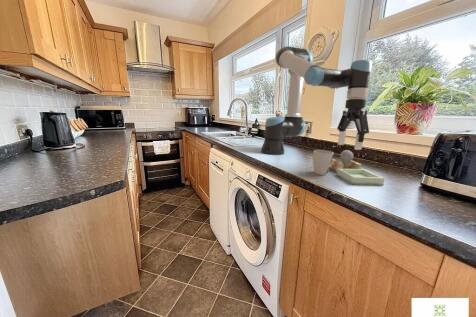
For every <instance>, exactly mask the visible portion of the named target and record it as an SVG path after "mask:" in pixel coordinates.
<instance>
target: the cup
mask: <svg viewBox="0 0 476 317" xmlns="http://www.w3.org/2000/svg"><path fill="white" fill-rule="evenodd" d="M334 154H335V152H333V151H331V150H325V149H314V150H313V156H312V157H313V158H312V162H313V163H312V165H313V172H314V174H315V175H320V176H326V175H327V174H328V172H329V171H330V169H331V168H330V166H331V163H332V159H333V158H334Z"/></svg>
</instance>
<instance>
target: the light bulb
mask: <svg viewBox="0 0 476 317" xmlns="http://www.w3.org/2000/svg"><path fill="white" fill-rule="evenodd" d="M339 158H340V161H341V163H343V164H344V166H343V169H347V167H348V163H349V162H350V161H351V160H352V161H353V159H354V153H353V152H352V151H351V150H349V149H345V150H343V151H341V152H340V154H339Z"/></svg>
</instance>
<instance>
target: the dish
mask: <svg viewBox="0 0 476 317" xmlns="http://www.w3.org/2000/svg"><path fill="white" fill-rule="evenodd" d="M336 176H338V177H340V178H341V179H343V180H344V181H346V182H348V183H349V184H351V185H357V186H358V185H360V186H361V185H365V186H384V183H385V179H386V178H385V177H382V176H381V175H378V174H375V173H373V172H372V171H369V170H367V169H364V168H361V169H337V172H336Z"/></svg>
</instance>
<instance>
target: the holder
mask: <svg viewBox="0 0 476 317" xmlns="http://www.w3.org/2000/svg"><path fill="white" fill-rule="evenodd" d="M343 166H344V164H343V163H342V161H341V162H340V161H338V160H336V159H333V158H332V163H331V166H330V169H331V170H333V171H334V172H336V173H337V169H343ZM347 169H362V163H359V162H357V161H355V160H353V159H352V160H351V161H350V162H349V163H348V167H347Z"/></svg>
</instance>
